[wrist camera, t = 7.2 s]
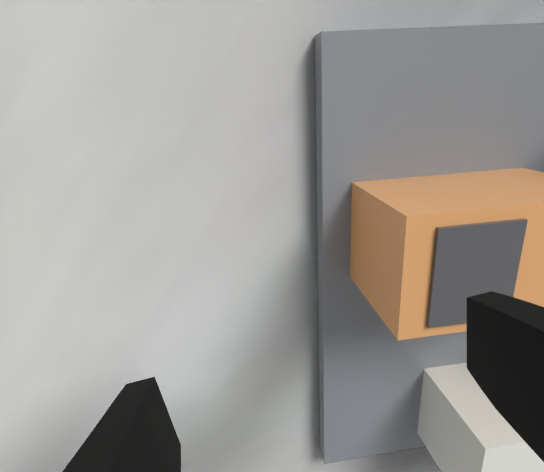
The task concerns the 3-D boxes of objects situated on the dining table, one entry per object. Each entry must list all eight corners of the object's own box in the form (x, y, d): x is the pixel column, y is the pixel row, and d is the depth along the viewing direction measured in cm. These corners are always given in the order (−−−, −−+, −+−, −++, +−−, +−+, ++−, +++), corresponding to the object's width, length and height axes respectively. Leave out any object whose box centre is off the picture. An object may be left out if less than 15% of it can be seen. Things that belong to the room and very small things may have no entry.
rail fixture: (648, 22, 17) (925, -26, 10) (548, 411, 24) (669, 525, 18) (314, 35, 15) (390, -12, 9) (319, 448, 23) (362, 590, 16)
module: (523, 167, 17) (642, 195, 12) (507, 259, 19) (607, 315, 14) (351, 182, 16) (409, 218, 11) (349, 277, 18) (399, 342, 13)
